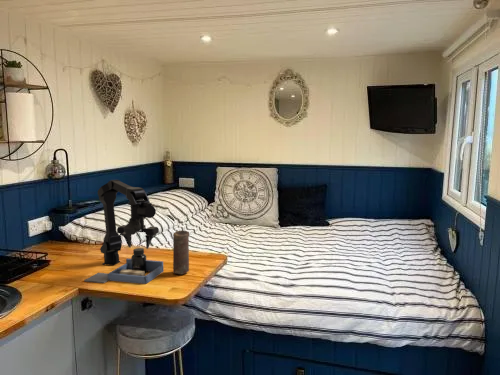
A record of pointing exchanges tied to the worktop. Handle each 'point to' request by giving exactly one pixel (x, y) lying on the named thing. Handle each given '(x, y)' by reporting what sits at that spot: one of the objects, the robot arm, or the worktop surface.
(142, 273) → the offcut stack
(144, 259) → the supplement bottle
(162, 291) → the worktop surface
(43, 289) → the worktop surface
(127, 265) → the blue-grey rectangular tray
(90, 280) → the mat
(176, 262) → the candle
